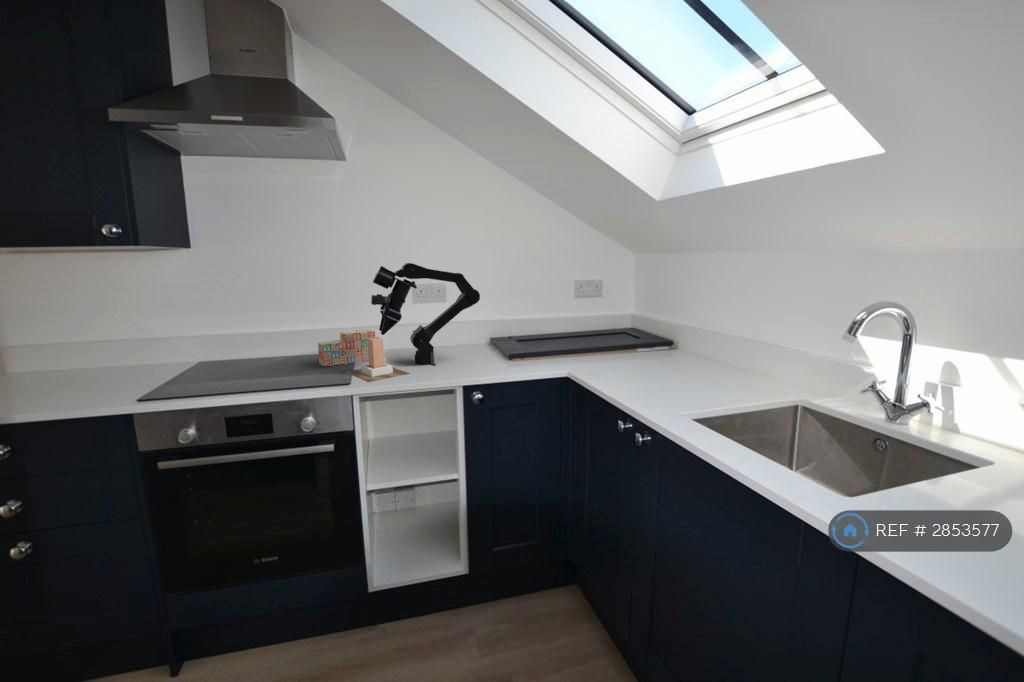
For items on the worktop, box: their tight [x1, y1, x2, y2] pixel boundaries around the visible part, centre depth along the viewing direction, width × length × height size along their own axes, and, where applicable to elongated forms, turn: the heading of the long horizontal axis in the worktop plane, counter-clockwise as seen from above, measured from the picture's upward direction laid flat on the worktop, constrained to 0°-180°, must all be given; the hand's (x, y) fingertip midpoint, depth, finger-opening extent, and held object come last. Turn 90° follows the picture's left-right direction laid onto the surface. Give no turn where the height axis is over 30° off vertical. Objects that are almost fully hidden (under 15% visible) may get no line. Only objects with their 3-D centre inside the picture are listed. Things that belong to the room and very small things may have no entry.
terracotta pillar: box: [367, 336, 385, 369], centre depth 169 cm, size 4×4×12 cm
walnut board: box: [345, 366, 411, 383], centre depth 170 cm, size 16×19×1 cm
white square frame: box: [361, 362, 393, 377], centre depth 170 cm, size 8×8×2 cm
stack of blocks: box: [317, 329, 376, 366], centre depth 191 cm, size 21×6×12 cm, turn 128°
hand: (381, 332), depth 176 cm, fingers open, 9 cm apart
